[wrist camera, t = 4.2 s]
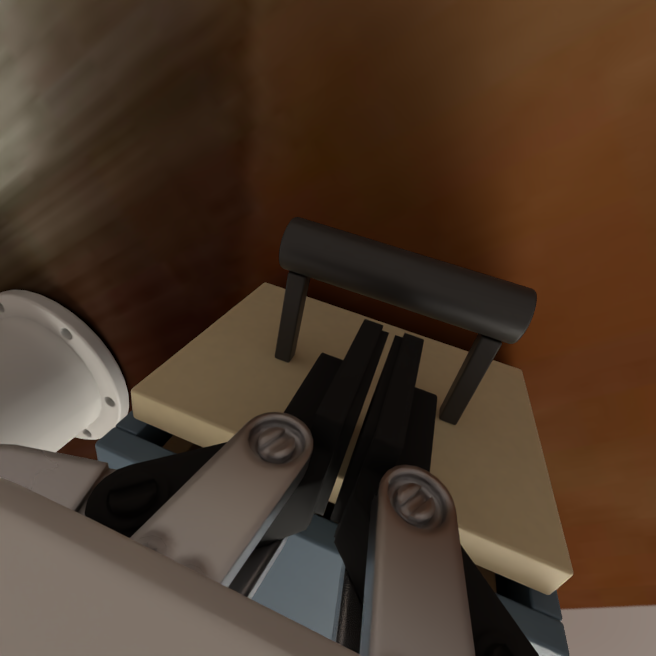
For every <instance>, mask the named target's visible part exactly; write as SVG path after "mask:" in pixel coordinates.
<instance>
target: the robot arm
mask: <svg viewBox="0 0 656 656" xmlns="http://www.w3.org/2000/svg"><path fill="white" fill-rule="evenodd" d="M382 329H383V325H381V324H379V323H376V322H373V321H370V320H367V319H364V321H363V323H362V325H361V327H360V329H359V331H358V333H357V334H356V336H355V338H354V340H353V342H352V344H351V346H350V348H349V350H348V352H347V354H346V356H345V358H344V360H342V359H339V358H336V357H334V356H331V355H328V354H325V353H321V354H320V356H319V357H318V359H317V360H316V362H315V364H314V365H313V367H312V368H311V370H310V371H309V373H308V375H307V376H306V378H305V379H304V381H303V383H302V384H301V386H300V387H299V389H298V390H297V392H296V394H295V395H294V397H293V398H292V400H291V402H290V403H289V405H288V406H287V408H286V409H285V411H284V413H281V412H268V413H263V414H261V415H258V416H255V417H254V418H253V419H251V420H250V421H248V422H247V423H246V424H245V425H244V426H243V427H242V428H241V429H240V430H239V431H238V432H237V433H236V434H235V435H234V436H233V437H232V438H231V439H230V440H229V441H228V442H225V443H221V444H216V445H212V446H208V447H204V448H199V449H195V450H191V451H187V452H182V453H178V454H174V455H169V456H165V457H161V458H157V459H152V460H148V461H144V462H140V463H135V464H131V465H128V466H126V467H123V468H120V469H117V470H116V469H111V468H109V466H108V463H107V462H102V461H97V460H92V459H87V458H82V457H77V456H72V455H66V454H61V453H56V452H57V451H58V450H59V449H60V448H62V447H63V446H64V445H65V444H67V443H68V442H69V441H70V440H72V439H73V438H74V437H77V438H82V439H100V438H102V437H103V436H104V435H105V434H107V433H108V432H109V431H110V430H111V429H112V428H114V427H116V424H117V423H118V422H120V421H121V420H122V419H123V418H124V417H125V416H127V414H128V409H129V395H128V390H127V386H126V382H125V379H124V377H123V375H122V372H121V370H120V368H119V366H118V364H117V362H116V361H115V359H114V357H113V356H112V354H111V352H110V351H109V350H108V348H107V347H106V346H105V345H104V343H103V342H102V341H101V339H100V338H99V337H98V336H97V335H96V334H95V333H94V332H93V331H92V330H91V329H90V328H89V327H88V326H87V324H85V323H84V322H83V321H82V320H81V319H79V318H78V317H77V316H76V315H75V314H73V313H72V312H71V311H69V310H68V309H66V308H65V307H63V306H62V305H60V304H59V303H57V302H55V301H53V300H51V299H49V298H47V297H45V296H43V295H40V294H37V293H33V292H30V291H26V290H9V291H4V292H1V293H0V656H539V654H538V653H537V652H536V650H535V649H534V647H533V646H532V645H531V643H530V642H529V640H528V639H527V637H526V636H525V635H524V633H523V632H522V630H521V629H520V628H519V626H518V625H517V623H516V622H515V620H514V619H513V618H512V616H511V615H510V613H509V612H508V611H507V609H506V608H505V606H504V605H503V603H502V602H501V601H500V599H499V598H498V596H497V595H496V594H495V592H494V591H493V589H492V588H491V587H490V585H489V584H488V582H487V581H486V579H485V578H484V577H483V575H482V574H481V572H480V571H479V570H478V568H477V567H476V565H475V564H474V562H473V561H472V560H471V558H470V557H469V555H468V554H467V553H466V551H465V550H464V548H463V547H462V545H461V544H460V537H459V529H458V522H457V514H456V508H455V505H454V501H453V498H452V496H451V495H450V493H449V491H448V489H447V488H446V487H445V485H444V484H443V483H442V482H441V481H440V480H439V479H438V478H437V477H435V476H434V475H433V474H431V473H430V466H431V457H432V447H433V437H434V428H435V418H436V408H437V395H435V394H433V393H430V392H427V391H425V390H422V389H419V388H417V387H415V385H416V380H417V375H418V369H419V364H420V359H421V354H422V349H423V344H424V339H421V338H419V337H416V336H413V335H410V334H407V333H404V335H403V337H400V336H397V335H395V337H394V340H393V342H392V345H391V348H390V351H389V353H388V356H387V359H386V361H385V364H384V367H383V369H382V372H381V375H380V378H379V380H378V383H377V386H376V388H375V391H374V394H373V396H372V399H371V402H370V405H369V407H368V410H367V413H366V416H365V419H364V421H363V424H362V427H361V430H360V433H359V436H358V439H357V442H356V445H355V448H354V451H353V453H352V456H351V459H350V462H349V465H348V468H347V471H346V474H345V477H344V480H343V483H342V485H341V488H340V491H339V494H338V497H337V500H336V503H335V506H334V509H333V512H332V515H331V518H330V519H331V520H333V521H335V522H338V525H337V528H336V531H335V535H334V537H335V541H334V543H335V545H336V547H337V550H338V552H339V554H340V556H341V558H342V560H343V564H342V567H341V571H340V579H339V586H338V594H337V601H336V609H335V617H334V624H333V632H332V639H331V640H330V639H328V638H326V637H324V636H322V635H321V634H319V633H317V632H315V631H313V630H311V629H309V628H307V627H305V626H303V625H301V624H299V623H297V622H295V621H293V620H291V619H289V618H287V617H285V616H283V615H281V614H279V613H277V612H275V611H273V610H271V609H269V608H267V607H265V606H263V605H261V604H259V603H257V602H255V601H253V600H251V599H252V597H253V595H254V594H255V592H256V590H257V589H258V587H259V586H260V584H261V582H262V581H263V579H264V577H265V576H266V574H267V573H268V571H269V569H270V568H271V566H272V564H273V563H274V561H275V560H276V558H277V556H278V555H279V553H280V551H281V550H282V548H283V547H284V545H285V543H286V541H287V538H288V536H291V535H294V534H296V533H299V532H301V531H304V530H307V527H308V525H309V526H310V523H311V520H312V518H313V515H314V513H318V514H320V515H322V516H323V514H324V512H325V509H326V506H327V503H328V501H329V498H330V495H331V492H332V490H333V487H334V484H335V482H336V479H337V476H338V473H339V471H340V468H341V465H342V462H343V460H344V457H345V454H346V451H347V449H348V446H349V443H350V440H351V438H352V435H353V432H354V429H355V427H356V424H357V421H358V418H359V416H360V413H361V410H362V407H363V405H364V402H365V399H366V396H367V393H368V391H369V388H370V385H371V382H372V380H373V377H374V374H375V371H376V368H377V366H378V363H379V360H380V357H381V354H382V352H383V349H384V346H385V343H386V340H387V338H388V335H389V333H388V332H386V331H383V330H382Z"/></svg>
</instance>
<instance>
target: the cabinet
mask: <svg viewBox="0 0 656 656" xmlns="http://www.w3.org/2000/svg"><path fill="white" fill-rule="evenodd" d="M172 436H173V434H170V433H168V432H166V431H163V430H161V429H159V428H156V427H154V426H152V425H149V424H147V423H145V422H142V421H140V420H138V419H135V418H134V416H133V410H132V411H131V412H130V413H129V414H128V415H127V416H125V417H124V418H123V419H122V420H121V421H120V422H118V423H117V424H116V427H114V428H112V429H111V430H110V431H109V432H108V433H107V434H105V435H104V436H103V437H102V438H101V439H100V440H99V441H97V442H96V444H95V447H96V452H97V457H98V461H102V462H107V463H108V466H109V468H111V469H116V470H117V469H120V468H123V467H126V466H128V465H131V464H135V463H140V462H144V461H148V460H152V459H157V458H161V457H165V456H169V455H174V454H177V453H174V452H172V451H170V450H167V449H165V448H163V446H164V445H165V443H166V442H167V441H168V440H169V439H170V438H171V437H172ZM337 525H338V524H337V523H334V522H332V521H330V520H328V519H325V518H323V517H321V516H318V515H316V514H314V515H313V518H312V520H311V523H310V526H309V525H308V527H307V530H304V531H301V532H299V533H296V534H294V535H291V536H288V538H287V541H286V543H285V545H284V547H283V548H282V550H281V551H280V553H279V555H278V556H277V558H276V560H275V561H274V563H273V564H272V566H271V568H270V569H269V571H268V573H267V574H266V576H265V577H264V579H263V581H262V582H261V584H260V586H259V587H258V589H257V590H256V592H255V594H254V595H253V597H252V599H251V600H253V601H255V602H257V603H259V604H261V605H263V606H265V607H267V608H269V609H271V610H273V611H275V612H277V613H279V614H281V615H283V616H285V617H287V618H289V619H291V620H293V621H295V622H297V623H299V624H301V625H303V626H305V627H307V628H309V629H311V630H313V631H315V632H317V633H319V634H321V635H322V636H324V637H326V638H328V639H330V640H331V639H332V632H333V624H334V617H335V609H336V601H337V594H338V586H339V579H340V571H341V567H342V564H343V560H342V558H341V556H340V554H339V552H338V550H337V547H336V545H335V543H334V541H335V537H334V535H335V531H336V528H337ZM495 578H496V590H497V593H495V594H496V595H497V596H498V598H499V599H500V601H501V602H502V603H503V605H504V606H505V608H506V609H507V611H508V612H509V613H510V615H511V616H512V618H513V619H514V620H515V622H516V623H517V625H518V626H519V628H520V629H521V630H522V632H523V633H524V635H525V636H526V637H527V639H528V640H529V642H530V643H531V645H532V646H533V647H534V649H535V650H536V652H537V653H538V654H539V656H569V650H568V645H567V641H566V636H565V631H564V626H563V624H562V623H561V621H562V615H561V610H560V605H559V600H558V596H557V591H556V590H555V591H554V592H553V593H551V594H550V595H546V594H543V593H541V592H539V591H536V590H534V589H532V588H529V587H527V586H525V585H522V584H520V583H518V582H515V581H513V580H511V579H508V578H506V577H504V576H502V575H499V574H497V573H495Z"/></svg>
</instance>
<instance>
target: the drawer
mask: <svg viewBox="0 0 656 656" xmlns="http://www.w3.org/2000/svg"><path fill="white" fill-rule="evenodd" d="M279 263H280V266H281V267H282V268H283V269H286V270H289V273H288V277H287V283H286V289H283V288H281V287H278V286H275V285H272V284H269V283H263V284H262V285H261V286H259V287H258V288H257V289H256V290H254V291H253V292H252V293H251V294H249V295H248V296H247V297H246V298H244V299H243V300H242V301H241V302H239V303H238V304H237V305H236V306H234V307H233V308H232V309H231V310H229V311H228V312H227V313H226V314H225V315H223V316H222V317H221V318H220V319H218V320H217V321H216V322H215V323H213V324H212V325H211V326H210V327H208V328H207V329H206V330H205V331H203V332H202V333H201V334H200V335H198V336H197V337H196V338H195V339H193V340H192V341H191V342H190V343H188V344H187V345H186V346H185V347H183V348H182V349H181V350H180V351H178V352H177V353H176V354H175V355H173V356H172V357H171V358H170V359H168V360H167V361H166V362H165V363H164V364H162V365H161V366H160V367H159V368H157V369H156V370H155V371H154V372H152V373H151V374H150V375H149V376H147V377H146V378H145V379H144V380H142V381H141V382H140V383H139V384H137V385H136V386H135V387H134V388H132V390H131V398H132V408H133V416H134V418H135V419H138V420H140V421H142V422H145V423H147V424H149V425H152V426H154V427H156V428H159V429H161V430H163V431H166V432H168V433H170V434H173V436H172V437H171V438H170V439H169V440H168V441H167V442H166V443H165V445H164V446H163V448H165V449H167V450H170V451H172V452H174V453H177V454H178V453H182V452H187V451H191V450H195V449H199V448H204V447H208V446H212V445H216V444H221V443H225V442H228V441H229V440H230V439H231V438H232V437H233V436H234V435H235V434H236V433H237V432H238V431H239V430H240V429H241V428H242V427H243V426H244V425H245V424H246V423H247V422H248V421H250V420H251V419H253V418H254V417H255V416H258V415H261V414H263V413H268V412H281V413H284V411H285V409H286V408H287V406H288V405H289V403H290V402H291V400H292V398H293V397H294V395H295V394H296V392H297V390H298V389H299V387H300V386H301V384H302V383H303V381H304V379H305V378H306V376H307V375H308V373H309V371H310V370H311V368H312V367H313V365H314V364H315V362H316V360H317V359H318V357H319V356H320V354H321V353H325V354H328V355H331V356H334V357H336V358H339V359H342V360H344V358H345V356H346V354H347V352H348V350H349V348H350V346H351V344H352V342H353V340H354V338H355V336H356V334H357V333H358V331H359V329H360V327H361V325H362V323H363V321H364V319H367V320H370V321H373V322H376V323H379V324H381V325H383V329H382V330H383V331H386V332H388V333H389V335H388V338H387V340H386V343H385V346H384V349H383V352H382V354H381V357H380V360H379V363H378V366H377V368H376V371H375V374H374V377H373V380H372V382H371V385H370V388H369V391H368V393H367V396H366V399H365V402H364V405H363V407H362V410H361V413H360V416H359V418H358V421H357V424H356V427H355V429H354V432H353V435H352V438H351V440H350V443H349V446H348V449H347V451H346V454H345V457H344V460H343V462H342V465H341V468H340V471H339V473H338V476H337V479H336V482H335V484H334V487H333V490H332V492H331V495H330V498H329V501H328V503H327V506H326V509H325V512H324V514H323V516H322V515H320V514H318V513H314V514H316V515H318V516H321V517H323V518H325V519H328V520H330V521H332V522H334V523H337V524H338V522H335V521H333V520H331V519H330V518H331V515H332V512H333V509H334V506H335V503H336V500H337V497H338V494H339V491H340V488H341V485H342V483H343V480H344V477H345V474H346V471H347V468H348V465H349V462H350V459H351V456H352V453H353V451H354V448H355V445H356V442H357V439H358V436H359V433H360V430H361V427H362V424H363V421H364V419H365V416H366V413H367V410H368V407H369V405H370V402H371V399H372V396H373V394H374V391H375V388H376V386H377V383H378V380H379V378H380V375H381V372H382V369H383V367H384V364H385V361H386V359H387V356H388V353H389V351H390V348H391V345H392V342H393V340H394V337H395V335H397V336H400V337H403V335H404V333H407V334H410V335H413V336H416V337H419V338H421V339H424V344H423V349H422V354H421V359H420V364H419V369H418V375H417V380H416V385H415V387H417V388H419V389H422V390H425V391H427V392H430V393H433V394H435V395H437V408H436V418H435V428H434V437H433V447H432V457H431V466H430V473H431V474H433V475H434V476H435V477H437V478H438V479H439V480H440V481H441V482H442V483H443V484H444V485H445V487H446V488H447V489H448V491H449V493H450V495H451V496H452V498H453V501H454V505H455V508H456V514H457V522H458V529H459V537H460V544H461V545H462V547H463V548H464V550H465V551H466V553H467V554H468V555H469V557H470V558H471V560H472V561H473V562H474V564H475V565H476V567H477V568H478V570H479V571H480V572H481V574H482V575H483V577H484V578H485V579H486V581H487V582H488V584H489V585H490V587H491V588H492V589H493V591H494V592H495V593H497V590H496V578H495V573H497V574H499V575H502V576H504V577H506V578H508V579H511V580H513V581H515V582H518V583H520V584H522V585H525V586H527V587H529V588H532V589H534V590H536V591H539V592H541V593H543V594H546V595H550V594H551V593H553V592H554V591H555V590H556V589H557V588H559V587H560V586H561V585H562V584H563V583H564V582H566V581H567V580H568V579H569V578H570V577H571V576H572V575H573V569H572V565H571V561H570V557H569V553H568V549H567V545H566V541H565V537H564V534H563V530H562V526H561V522H560V518H559V514H558V510H557V506H556V502H555V498H554V494H553V490H552V487H551V483H550V479H549V475H548V471H547V467H546V463H545V459H544V455H543V451H542V447H541V444H540V440H539V436H538V432H537V428H536V424H535V420H534V416H533V412H532V408H531V404H530V400H529V397H528V393H527V389H526V385H525V381H524V377H523V373H522V370H520V369H518V368H515V367H512V366H509V365H506V364H503V363H500V362H497V361H494V360H493V359H494V357H495V355H496V354H497V352H498V350H499V348H500V347H501V345H502V342H501V341H503V342H506V343H509V344H513V343H515V342H517V341H518V340H519V339H520V338H521V337H522V335H523V334H524V333H525V331H526V329H527V328H528V326H529V324H530V322H531V320H532V317H533V314H534V311H535V307H536V301H537V295H536V292H535V291H534V290H533V289H531V288H528V287H525V286H521V285H518V284H515V283H512V282H508V281H505V280H502V279H499V278H495V277H492V276H489V275H486V274H482V273H479V272H476V271H473V270H469V269H466V268H463V267H460V266H456V265H453V264H450V263H447V262H443V261H440V260H437V259H434V258H430V257H427V256H424V255H421V254H417V253H414V252H411V251H408V250H404V249H401V248H398V247H395V246H391V245H388V244H385V243H382V242H378V241H375V240H372V239H369V238H365V237H362V236H359V235H356V234H352V233H349V232H346V231H343V230H339V229H336V228H333V227H329V226H326V225H323V224H320V223H316V222H313V221H310V220H307V219H303V218H300V217H295V218H293V219H292V220H291V221H290V222H289V224H288V226H287V228H286V230H285V232H284V234H283V237H282V241H281V245H280V250H279ZM310 278H313V279H316V280H319V281H322V282H325V283H328V284H331V285H334V286H337V287H340V288H343V289H346V290H349V291H352V292H355V293H358V294H361V295H364V296H367V297H370V298H373V299H376V300H379V301H382V302H385V303H388V304H391V305H394V306H397V307H400V308H403V309H406V310H409V311H412V312H415V313H418V314H421V315H424V316H427V317H430V318H433V319H437V320H440V321H443V322H446V323H449V324H452V325H455V326H458V327H461V328H464V329H467V330H470V331H473V332H476V333H478V335H477V337H476V339H475V341H474V342H473V344H472V346H471V348H470V350H469V352H468V351H465V350H462V349H459V348H456V347H453V346H450V345H447V344H444V343H441V342H439V341H436V340H433V339H430V338H427V337H424V336H421V335H418V334H415V333H412V332H409V331H406V330H403V329H401V328H398V327H395V326H392V325H389V324H386V323H383V322H380V321H377V320H374V319H371V318H368V317H365V316H362V315H360V314H357V313H354V312H351V311H348V310H345V309H342V308H339V307H336V306H333V305H330V304H327V303H324V302H321V301H319V300H316V299H313V298H310V297H307V291H308V286H309V281H310Z"/></svg>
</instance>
